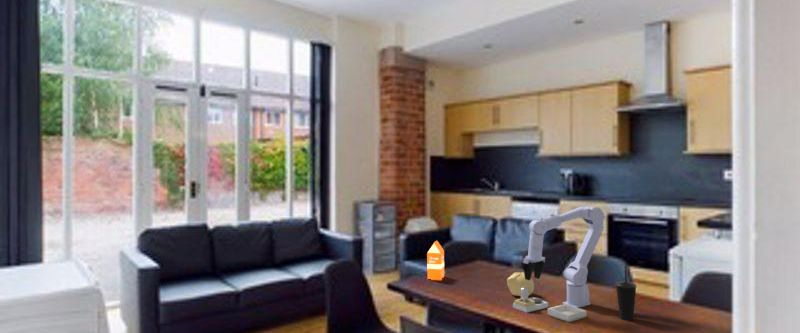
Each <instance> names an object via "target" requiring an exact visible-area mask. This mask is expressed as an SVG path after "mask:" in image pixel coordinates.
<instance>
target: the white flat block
mask: <svg viewBox="0 0 800 333" xmlns="http://www.w3.org/2000/svg"><path fill="white" fill-rule="evenodd" d="M528 300H529V302H526V303H524V302H521V298H518V299H514V302H513V303H512V308H513V309H516V310H519V311H521V312H524V313H530V312H535V311H538V310H543V309H548V308H549V302H548V301H545V300H543V299H542V298H540V297H534V296H532V297H528Z"/></svg>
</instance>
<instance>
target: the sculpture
mask: <svg viewBox="0 0 800 333" xmlns="http://www.w3.org/2000/svg"><path fill="white" fill-rule="evenodd" d="M506 282H507V283H506V284H507V287H508V289H509V291H510V293H511V294H512V295H513V296H516V297H521V287H527V288H528V297H529V296H531V295H533V292H534V290H535V284H534V280H533V278H532V277H531V279H530V280H526V279H525V275H524V271H523V272H522V271H521V272H520V271H519V272H518V271H515V272H513V273H512V274H511V275H510V276H509V277H508V278H507V279H506Z"/></svg>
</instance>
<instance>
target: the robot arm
mask: <svg viewBox="0 0 800 333" xmlns="http://www.w3.org/2000/svg"><path fill="white" fill-rule="evenodd" d="M605 217H606V216H605V213H604V211H603V210H602V209H601V208H600V207H599V206H598V207H597V206H590V205H583V206H579V207H578V206H577V208H574V209H572V210H569V211H567V212H564V213H561V214H556V213H550V214H549V215H548V216H545V217H539V219H533V220H532V221H530V222H529V225H528V230H529V231H530V232H529V233H530V234H529V241H528V251H527V252H528V253H527V255H525V256H524V257H525V258H523V259H522V260H523V261H521V266H522V268H523V272H524V275H525V279H526V280H530V279H531V278H532V274H533V276H534V277H533V278H534V279H540V278H541V276H542V272H543V270H544V268H545V267H546V266H547V262H546V261H545V260H546V257H545V256H543V248H544V247H543V246H544V238H545V237H544V236H545V234H546V233H547V231H548V232H549V231H550V230H553V229H556V228H559V227H561V225H562V224H563V223H565V222H569V221H571V220H576V219H578V218H580V219H582V220H583V221H584V222H585V224H587V227H588V231H587V233H586V235H585V237H584V239H583V241H582V244H581V245H580V248H579V250H578V252H577V255H576V257H575V258H574V260H573V261H571V262H570V263H569V265H568V266H567V267H566V268H565V269H564V271H563V277H564V279H565V280H566V282H565V283H566V301H563V302H562V303H561V304H562V305H563V304H567V305H570V306H573V307H576V308H579V309H580V308H582V307H586V306H589V305H591V304H592V303H591V302H590V288H589V286H588V284H586V283H587V279H588V278H587V277H588V273H589V270H588V264H589V262H590V260H591V257H592V256H593V254H594V251H595V250H596V246H597V245H598V242H599V240H600V238H601V236H602V234H603V233H604V220H605Z"/></svg>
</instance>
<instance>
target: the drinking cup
mask: <svg viewBox="0 0 800 333" xmlns="http://www.w3.org/2000/svg"><path fill="white" fill-rule="evenodd" d="M627 270H628V269H627V268H625V267H624V280H621V281H617V282H616V283H615V284H614V285H615V286H616V295H617V304H618V312H619V319H621V320H623V321H633V320H634V315H635V314H634V313H635V304H636V289H637V284H636V283H634V282H631V281H628V272H627Z"/></svg>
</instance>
